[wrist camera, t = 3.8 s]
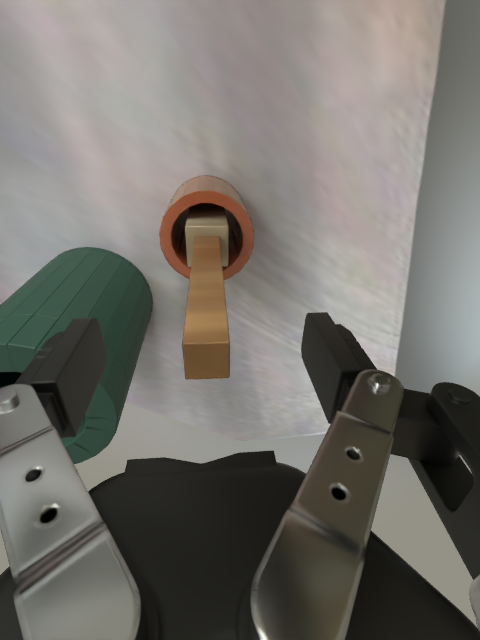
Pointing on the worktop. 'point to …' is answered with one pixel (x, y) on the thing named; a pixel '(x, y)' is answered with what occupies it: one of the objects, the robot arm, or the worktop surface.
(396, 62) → the worktop surface
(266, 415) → the worktop surface
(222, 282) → the brush
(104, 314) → the green tube sleeve
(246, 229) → the cup
